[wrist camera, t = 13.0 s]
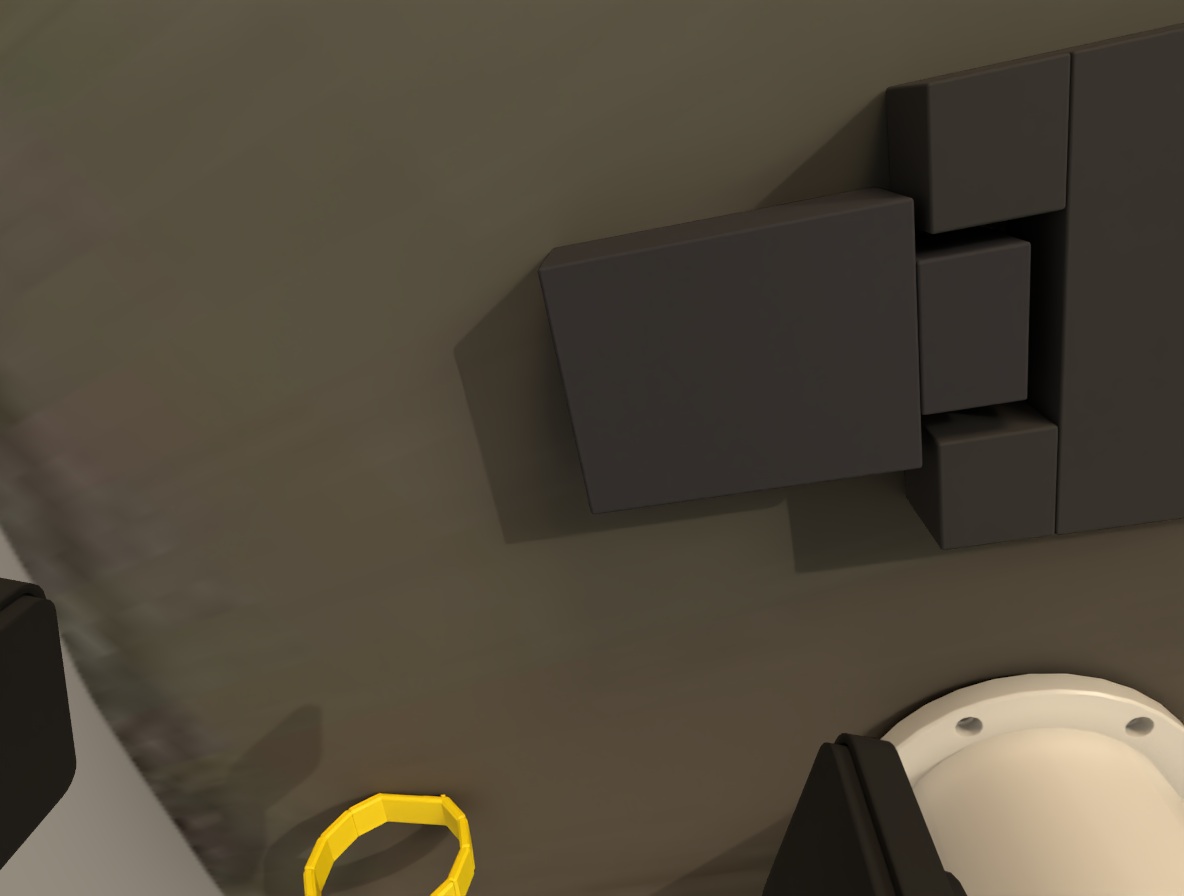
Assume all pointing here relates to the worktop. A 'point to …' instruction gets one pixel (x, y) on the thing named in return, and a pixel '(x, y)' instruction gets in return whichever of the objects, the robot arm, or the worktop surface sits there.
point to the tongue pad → (779, 345)
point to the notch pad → (1061, 284)
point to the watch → (392, 810)
